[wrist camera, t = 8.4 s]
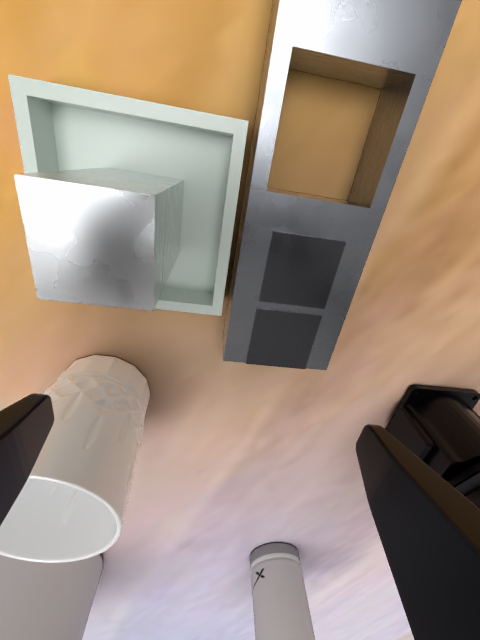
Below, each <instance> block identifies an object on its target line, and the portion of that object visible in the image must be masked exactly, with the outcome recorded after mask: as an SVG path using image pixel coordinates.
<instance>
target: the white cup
mask: <svg viewBox="0 0 480 640" xmlns="http://www.w3.org/2000/svg"><path fill="white" fill-rule="evenodd" d="M43 394H46V395H49V396H50V397H51V401H52V406H53V412H54V423H53V426H52V428H51V430H50V432H49V435H48V437H47V439H46V441H45V443H44V445H43V448H42V450H41V452H40V454H39V456H38V458H37V460H36V463H35V465H34V467H33V469H32V471H31V473H30V475H29V477H28V479H27V481H26V483H25V485H24V487H23V489H22V490H21V492H20V494H19V495H18V497H17V499H16V501H15V502H14V504H13V506H12V507H11V509H10V511H9V512H8V514H7V516H6V517H5V519H4V521H3V523H2V524H1V526H0V555H3V556H6V557H10V558H14V559H19V560H24V561H31V562H43V563H62V562H72V561H78V560H83V559H87V558H90V557H93V556H96V555H98V554H100V553H102V552H104V551H106V550H107V549H109V548H110V547H111V546H112V545H113V544H114V543H115V542H116V541H117V540H118V538H119V536H120V534H121V530H122V525H123V521H124V516H125V512H126V507H127V503H128V499H129V494H130V490H131V485H132V481H133V477H134V473H135V468H136V464H137V460H138V455H139V451H140V446H141V440H142V435H143V430H144V419H145V414H146V410H147V406H148V402H149V398H150V391H149V387H148V383H147V379H146V378H145V377H144V376H143V375H142V374H141V373H140V372H139V370H138V369H137V368H136V367H135V366H133V365H131V364H129V363H127V362H125V361H123V360H121V359H119V358H117V357H110V356H101V355H92V356H89V357H85V358H81V359H78V360H75V361H74V362H73V363H72V364H71V365H70V366H69V367H68V368H67V369H66V370H65V371H64V372H63V373H62V374H61V375H60V376H59V377H58V379H57V380H56V381H55V382H54V384H53V385H52V386H50V387H49V388H47V389H46V390H45V392H44V393H43Z"/></svg>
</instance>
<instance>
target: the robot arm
mask: <svg viewBox="0 0 480 640" xmlns="http://www.w3.org/2000/svg"><path fill="white" fill-rule="evenodd" d="M479 399H480V394H479V393H478V392H477V391H475V390H464V389H453V388H442V387H431V386H419V385H414V386H411V387H410V388H409V389H408V391H407V393H406V395H405V396H404V398H403V400H402V402H401V404H400V405H399V407H398V409H397V411H396V413H395V414H394V416H393V418H392V420H391V422H390V423H389V425H388V427H387V429H386V430H385V429H384V428H382V427H381V426H379V425H369V424H368V425H366V426H364V428H363V430H362V432H361V434H360V436H359V438H358V440H357V443H356V453H357V457H358V461H359V465H360V470H361V474H362V478H363V482H364V487H365V491H366V495H367V499H368V503H369V506H370V509H371V512H372V515H373V518H374V521H375V524H376V527H377V530H378V533H379V536H380V539H381V542H382V545H383V548H384V551H385V554H386V557H387V560H388V563H389V566H390V568H391V571H392V574H393V577H394V580H395V583H396V586H397V589H398V592H399V595H400V598H401V601H402V604H403V607H404V610H405V613H406V616H407V619H408V622H409V625H410V628H411V631H412V634H413V637H414V640H480V416H479V415H478V414H477V413H476V412H475V411H474V410H473V408H474V406H475V405H476V403H477V402H478V401H479ZM53 423H54V412H53V406H52V401H51V397H50V396H49V395H46V394H31V395H28V396H27V397H25V398H23V399H21V400H19V401H18V402H16V403H14V404H12V405H10V406H8V407H7V408H5V409H3V410H1V411H0V526H1V524H2V523H3V521H4V519H5V517H6V516H7V514H8V512H9V511H10V509H11V507H12V506H13V504H14V502H15V501H16V499H17V497H18V495H19V494H20V492H21V490H22V489H23V487H24V485H25V483H26V481H27V479H28V477H29V475H30V473H31V471H32V469H33V467H34V465H35V463H36V460H37V458H38V456H39V454H40V452H41V450H42V448H43V445H44V443H45V441H46V439H47V437H48V435H49V432H50V430H51V428H52V426H53Z"/></svg>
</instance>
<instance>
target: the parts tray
mask: <svg viewBox="0 0 480 640" xmlns="http://www.w3.org/2000/svg"><path fill="white" fill-rule="evenodd" d="M8 78H9V84H10V89H11V95H12V101H13V107H14V113H15V119H16V125H17V131H18V136H19V142H20V148H21V154H22V160H23V166H24V172H25V173H35V172H49V171H63V170H77V169H90V168H104V167H109V168H115V169H121V170H128V171H134V172H140V173H147V174H153V175H159V176H165V177H172V178H178V179H184V190H183V208H182V227H181V245H180V253H179V255H178V257H177V260H176V262H175V264H174V266H173V269H172V271H171V273H170V275H169V278H168V280H167V282H166V284H165V286H164V289H163V291H162V293H161V295H160V298H159V300H158V302H157V304H156V307H155V309H162V310H171V311H180V312H189V313H198V314H207V315H216V316H221V314H222V306H223V299H224V292H225V285H226V278H227V271H228V264H229V257H230V250H231V243H232V236H233V228H234V221H235V214H236V207H237V200H238V193H239V186H240V179H241V172H242V165H243V158H244V150H245V143H246V136H247V129H248V122H249V121H246V120H241V119H236V118H231V117H226V116H221V115H216V114H210V113H205V112H200V111H195V110H190V109H185V108H180V107H174V106H169V105H164V104H159V103H154V102H149V101H144V100H138V99H133V98H128V97H123V96H118V95H113V94H108V93H102V92H97V91H92V90H87V89H82V88H77V87H72V86H66V85H61V84H56V83H51V82H46V81H41V80H36V79H30V78H25V77H20V76H15V75H10V74H8Z"/></svg>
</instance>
